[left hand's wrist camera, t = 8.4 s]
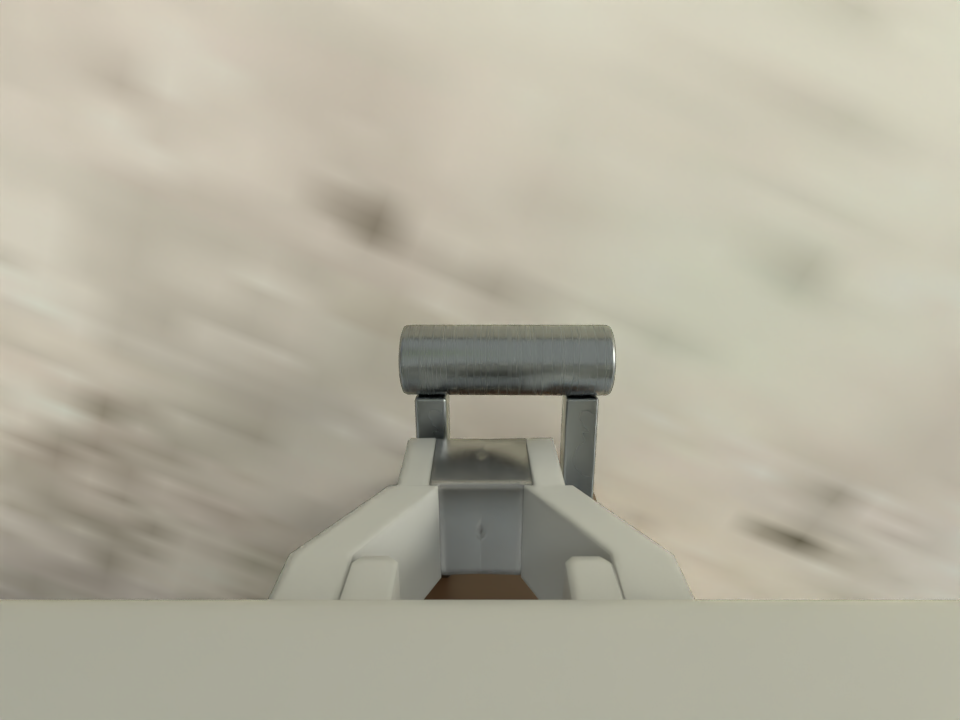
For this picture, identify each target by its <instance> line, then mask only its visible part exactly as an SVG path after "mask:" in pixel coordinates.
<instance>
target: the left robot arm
mask: <svg viewBox="0 0 960 720" xmlns="http://www.w3.org/2000/svg"><path fill="white" fill-rule="evenodd" d="M458 574H503V575H521V578H522V579H523V580H524V582H525V583H526V584H527V585H528V587H529V588H530V589H531V590H532V592H533V593H534V594H535V595H536V597H537V598H538V599H539V600H424V599H425V597H426V596H427V595H428V594H429V592H430V591H431V590H432V589H433V587H434V586H435V585H436V584H437V582H438V581H439V580H440V578H441V575H458ZM0 720H960V600H695V598H694V596H693V594H692V592H691V590H690V588H689V586H688V584H687V582H686V579H685V577H684V575H683V573H682V571H681V569H680V567H679V565H678V563H677V561H676V558H675V556H674V555H673V554H672V553H670V552H669V551H667V550H666V549H664V548H663V547H661V546H660V545H659V544H657V543H656V542H654V541H653V540H651V539H650V538H648V537H647V536H645V535H644V534H643V533H641V532H640V531H638V530H637V529H635V528H634V527H632V526H631V525H630V524H628V523H627V522H625V521H624V520H622V519H621V518H619V517H618V516H616V515H615V514H614V513H612V512H611V511H609V510H608V509H606V508H605V507H603V506H602V505H600V504H599V503H598V502H596V501H595V500H593V499H592V498H590V497H589V496H587V495H586V494H584V493H583V492H582V491H580V490H579V489H577V488H576V487H574V486H573V485H565V483H564V479H563V475H562V471H561V467H560V464H559V460H558V456H557V452H556V448H555V444H554V440H553V439H552V438H529V439H525V438H515V439H452V438H437V439H436V438H411V439H410V440H409V441H408V443H407V447H406V451H405V455H404V459H403V463H402V467H401V472H400V476H399V480H398V484H397V485H390V486H388V487H387V488H385V489H384V490H382V491H381V492H379V493H378V494H376V495H375V496H373V497H372V498H371V499H369V500H368V501H366V502H365V503H363V504H362V505H360V506H359V507H357V508H356V509H355V510H353V511H352V512H350V513H349V514H347V515H346V516H344V517H343V518H341V519H340V520H339V521H337V522H336V523H334V524H333V525H331V526H330V527H328V528H327V529H325V530H324V531H323V532H321V533H320V534H318V535H317V536H315V537H314V538H312V539H311V540H310V541H308V542H307V543H305V544H304V545H302V546H301V547H299V548H298V549H296V550H295V551H294V552H292V553H291V554H289V556H288V559H287V561H286V563H285V565H284V567H283V569H282V571H281V573H280V575H279V577H278V580H277V582H276V584H275V586H274V588H273V590H272V592H271V594H270V596H269V598H268V600H0Z"/></svg>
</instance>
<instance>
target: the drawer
mask: <svg viewBox="0 0 960 720" xmlns="http://www.w3.org/2000/svg"><path fill="white" fill-rule="evenodd" d="M615 372H616V348H615V340H614V335H613V332H612V330H611V328H610V327H609V326H607V325H406V326H404V328H403V330H402V333H401V337H400V344H399V377H400V383H401V387H402V390H403V392H404V393H405V394H408V395H417V396H416V399H415V417H416V438H436V439H437V438H450V412H449V395H563V398H562V424H561V450H560V467H561V471H562V475H563V479H564V483H565V485H573V486H574V487H576V488H577V489H579V490H580V491H582V492H583V493H584V494H586V495H587V496H589V497H590V498H592V499H593V500H595V501H596V498H595V495H594V492H593V489H594V471H595V454H596V437H597V420H598V403H599V400H598V398H597V396H606V395H608V394H610V393H611V391H612V388H613V385H614V380H615ZM596 502H597V501H596ZM424 600H539V599H538V598H537V597H536V595H535V594H534V593H533V592H532V590H531V589H530V588H529V587H528V585H527V584H526V583H525V582H524V580H523V579H522V578H521V575H503V574H458V575H441V578H440V580H439V581H438V582H437V584H436V585H435V586H434V587H433V589H432V590H431V591H430V592H429V594H428V595H427V596H426V597H425V599H424Z"/></svg>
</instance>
